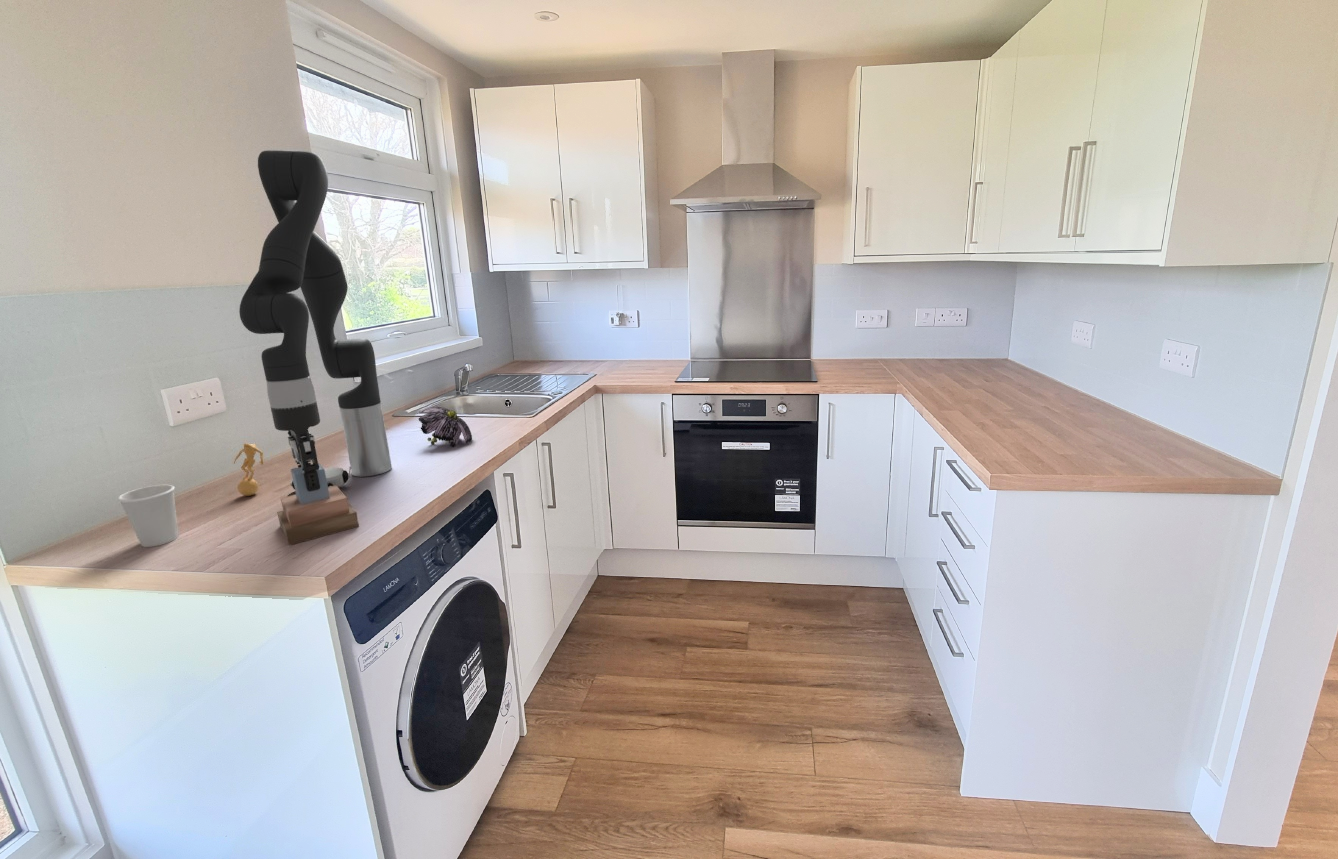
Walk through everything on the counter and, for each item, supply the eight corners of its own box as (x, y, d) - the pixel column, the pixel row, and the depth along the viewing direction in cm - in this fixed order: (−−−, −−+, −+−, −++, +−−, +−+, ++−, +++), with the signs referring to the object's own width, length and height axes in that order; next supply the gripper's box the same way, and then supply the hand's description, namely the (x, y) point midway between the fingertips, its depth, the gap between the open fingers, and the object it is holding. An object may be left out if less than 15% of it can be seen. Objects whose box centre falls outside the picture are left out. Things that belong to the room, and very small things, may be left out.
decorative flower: (449, 418, 165) (412, 398, 171) (436, 458, 167) (400, 437, 173) (487, 420, 178) (451, 401, 184) (475, 457, 180) (440, 437, 186)
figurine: (228, 497, 141) (215, 447, 137) (251, 488, 146) (240, 439, 143) (256, 499, 138) (244, 448, 135) (279, 489, 144) (268, 441, 141)
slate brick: (296, 497, 121) (290, 469, 119) (325, 491, 124) (319, 463, 122) (301, 504, 117) (294, 475, 115) (330, 497, 120) (324, 468, 118)
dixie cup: (124, 553, 113) (109, 503, 111) (141, 536, 121) (127, 489, 118) (179, 544, 116) (166, 494, 114) (192, 528, 124) (180, 481, 121)
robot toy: (346, 505, 135) (354, 480, 148) (342, 487, 133) (350, 462, 147) (282, 515, 131) (297, 488, 144) (278, 496, 130) (292, 470, 143)
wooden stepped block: (280, 525, 123) (273, 497, 121) (345, 509, 130) (340, 482, 128) (289, 545, 114) (282, 515, 112) (358, 526, 121) (353, 498, 119)
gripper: (323, 404, 112) (339, 490, 116) (309, 393, 123) (325, 472, 127) (275, 411, 108) (294, 500, 112) (265, 400, 119) (283, 481, 123)
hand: (310, 485), depth 120 cm, fingers open, 6 cm apart
